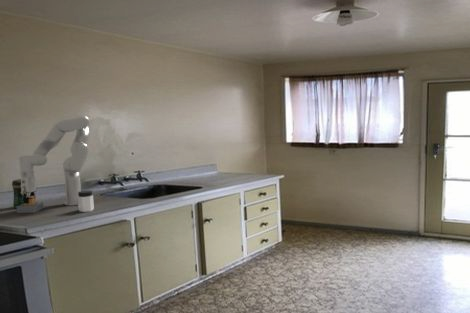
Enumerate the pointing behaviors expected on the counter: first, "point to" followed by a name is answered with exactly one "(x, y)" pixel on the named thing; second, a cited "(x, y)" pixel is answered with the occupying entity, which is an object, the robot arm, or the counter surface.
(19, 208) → the holder
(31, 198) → the block
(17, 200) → the coffee jar
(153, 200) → the counter surface
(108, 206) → the counter surface
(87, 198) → the jar
